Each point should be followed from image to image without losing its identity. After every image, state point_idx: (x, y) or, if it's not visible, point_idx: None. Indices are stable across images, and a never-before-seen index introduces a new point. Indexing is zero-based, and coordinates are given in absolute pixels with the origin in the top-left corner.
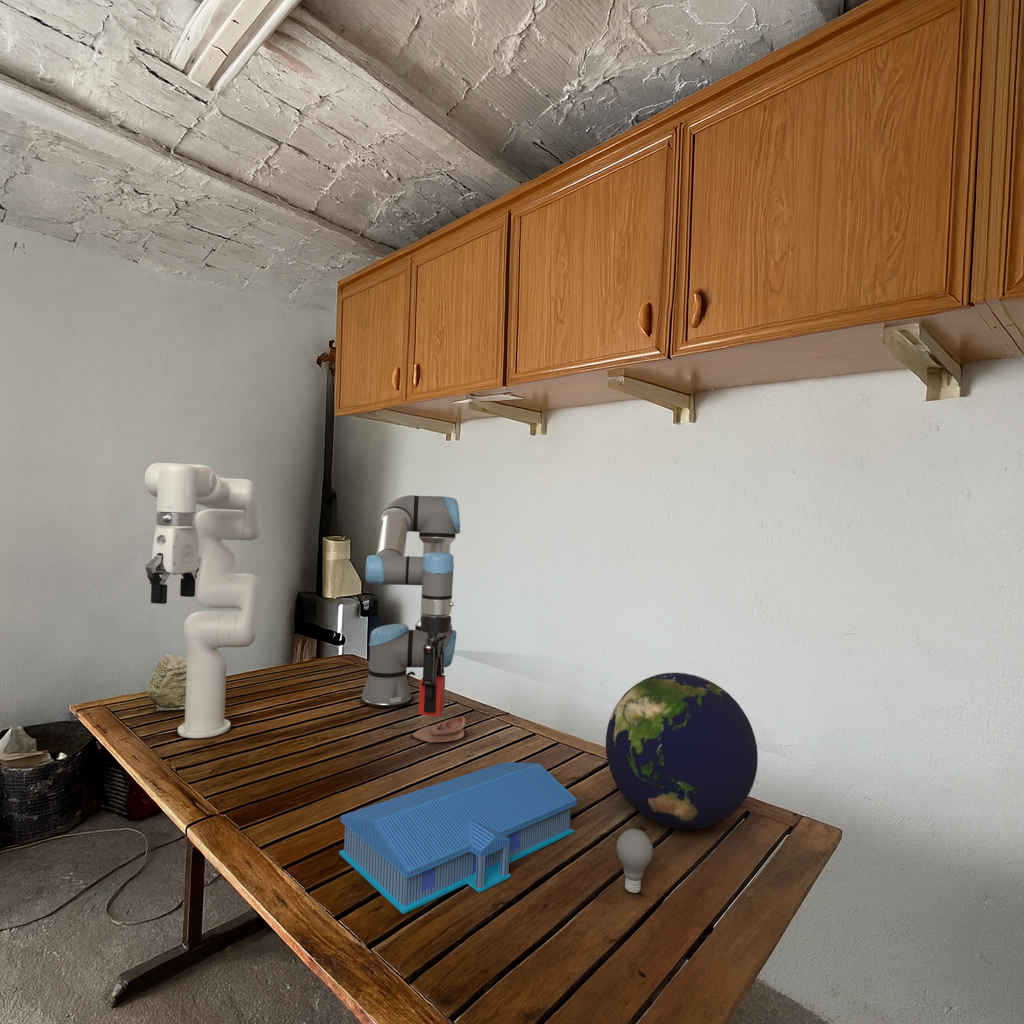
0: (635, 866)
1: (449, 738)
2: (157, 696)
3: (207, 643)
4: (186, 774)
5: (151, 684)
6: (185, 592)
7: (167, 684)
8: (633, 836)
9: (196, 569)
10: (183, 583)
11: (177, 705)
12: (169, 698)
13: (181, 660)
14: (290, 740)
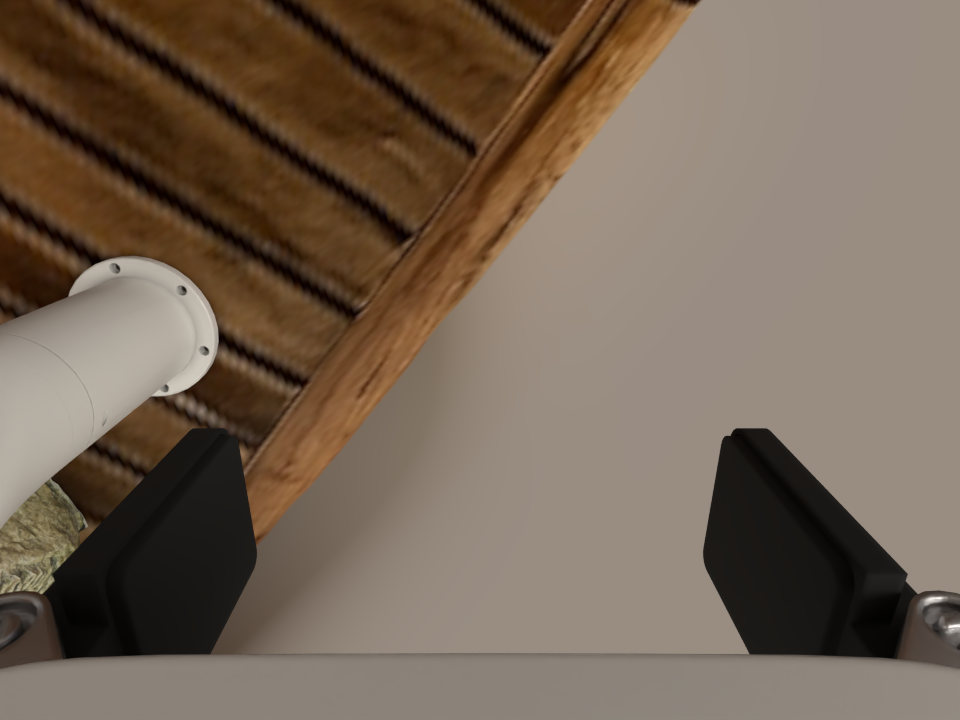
0: None
1: None
2: (72, 542)
3: None
4: (428, 193)
5: (41, 591)
6: (230, 536)
7: (30, 546)
8: None
9: (17, 669)
10: (186, 649)
11: (48, 487)
12: (52, 514)
13: None
14: (102, 4)
